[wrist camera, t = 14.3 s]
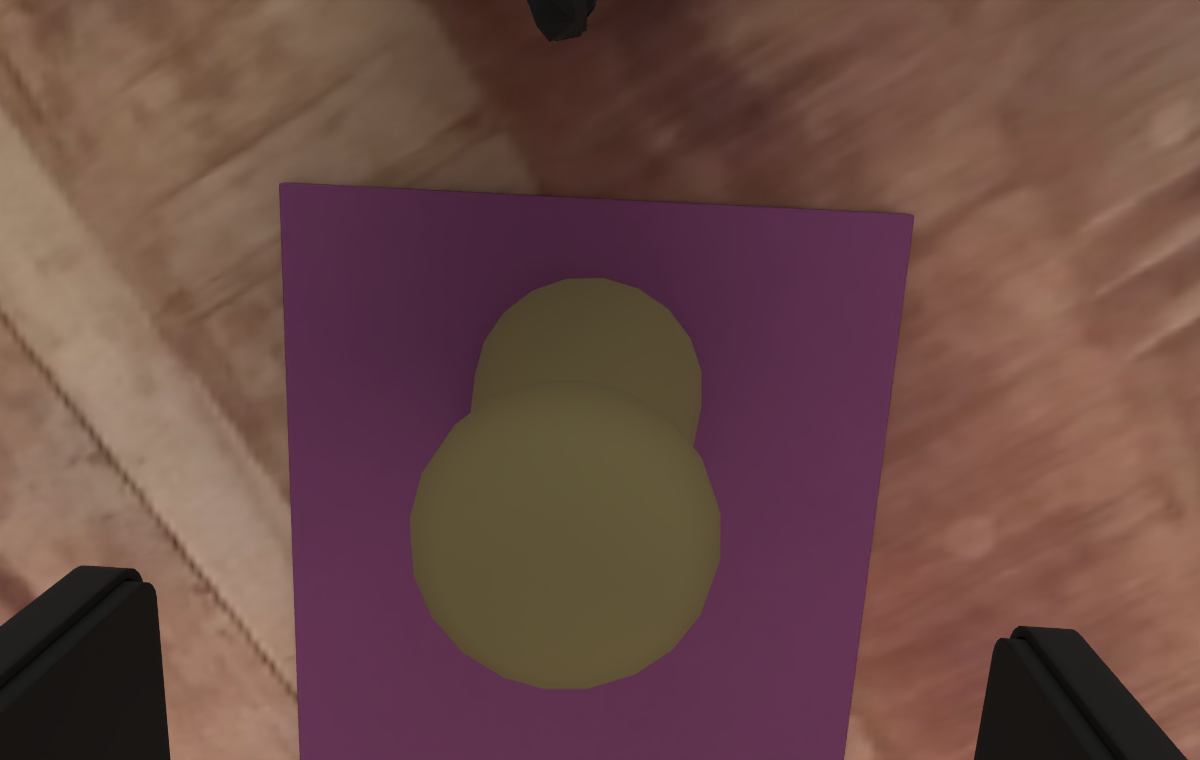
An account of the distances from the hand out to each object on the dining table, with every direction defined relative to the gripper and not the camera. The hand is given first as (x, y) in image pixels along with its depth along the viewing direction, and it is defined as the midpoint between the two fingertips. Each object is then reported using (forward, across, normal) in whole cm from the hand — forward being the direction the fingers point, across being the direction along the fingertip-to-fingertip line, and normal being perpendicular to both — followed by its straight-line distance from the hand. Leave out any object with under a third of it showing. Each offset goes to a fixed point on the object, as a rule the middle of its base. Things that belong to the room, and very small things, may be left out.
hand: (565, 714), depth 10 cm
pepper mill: (+15, +1, 0) cm, 15 cm away
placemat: (+15, +1, +6) cm, 16 cm away
